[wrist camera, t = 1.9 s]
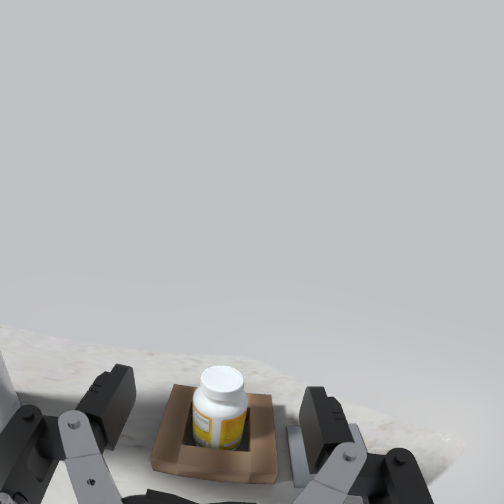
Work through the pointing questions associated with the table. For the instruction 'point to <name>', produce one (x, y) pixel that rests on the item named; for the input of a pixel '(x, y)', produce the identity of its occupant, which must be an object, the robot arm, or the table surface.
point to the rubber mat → (299, 455)
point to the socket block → (215, 460)
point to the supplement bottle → (219, 409)
